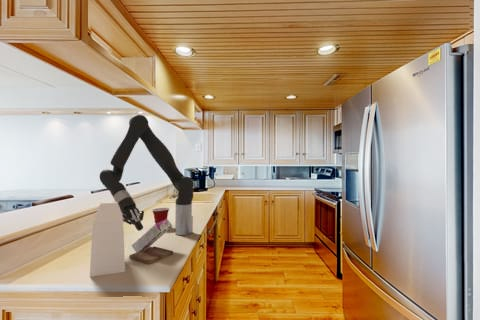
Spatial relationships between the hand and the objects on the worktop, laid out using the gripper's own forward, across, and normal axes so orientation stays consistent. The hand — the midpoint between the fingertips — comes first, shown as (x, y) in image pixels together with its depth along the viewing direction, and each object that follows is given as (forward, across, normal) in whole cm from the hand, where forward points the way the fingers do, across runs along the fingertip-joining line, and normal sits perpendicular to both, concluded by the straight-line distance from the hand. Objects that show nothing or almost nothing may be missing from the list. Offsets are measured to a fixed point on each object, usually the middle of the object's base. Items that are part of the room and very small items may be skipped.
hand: (141, 229), depth 130 cm
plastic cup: (-11, +36, +25) cm, 45 cm away
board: (+15, -3, -1) cm, 15 cm away
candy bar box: (+5, 0, +6) cm, 8 cm away
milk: (+12, -21, +2) cm, 25 cm away
